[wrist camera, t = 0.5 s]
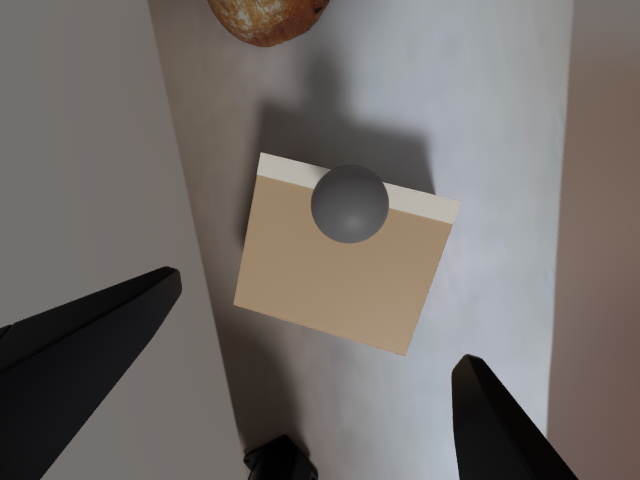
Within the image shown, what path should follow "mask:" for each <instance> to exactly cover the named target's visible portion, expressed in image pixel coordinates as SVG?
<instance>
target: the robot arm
mask: <svg viewBox="0 0 640 480" xmlns="http://www.w3.org/2000/svg"><path fill="white" fill-rule="evenodd" d="M181 292H182V284H181V277H180V272H179V271H178V270H177V269H175V268H171V267H167V266H165V267H162V268H159V269H156V270H154V271H151V272H148V273H146V274H143V275H140V276H138V277H135V278H133V279H130V280H127V281H124V282H122V283H119V284H117V285H114V286H111V287H109V288H106V289H103V290H101V291H98V292H95V293H93V294H90V295H87V296H85V297H82V298H79V299H77V300H74V301H71V302H69V303H66V304H64V305H61V306H58V307H55V308H53V309H50V310H47V311H45V312H42V313H40V314H37V315H34V316H31V317H29V318H26V319H23V320H21V321H18V322H16V323H14V324H13V325H7V326H5V327H2V328H0V480H40V479H41V478H42V477H43V475H44V474H45V473H46V471H47V470H48V469H49V468H50V466H51V465H52V464H53V463H54V461H55V460H56V459H57V458H58V456H59V455H60V454H61V453H62V451H63V450H64V449H65V448H66V446H67V445H68V444H69V443H70V441H71V440H72V439H73V437H74V436H75V435H76V434H77V432H78V431H79V430H80V429H81V427H82V426H83V425H84V424H85V422H86V421H87V420H88V418H89V417H90V416H91V415H92V414H93V412H94V411H95V410H96V408H97V407H98V406H99V405H100V403H101V402H102V401H103V399H104V398H105V397H106V396H107V395H108V393H109V392H110V391H111V389H112V388H113V387H114V386H115V385H116V383H117V382H118V381H119V379H120V378H121V377H122V376H123V374H124V373H125V372H126V370H127V369H128V368H129V367H130V366H131V364H132V363H133V362H134V360H135V359H136V358H137V357H138V355H139V354H140V353H141V352H142V350H143V349H144V348H145V347H146V345H147V344H148V343H149V342H150V340H151V339H152V338H153V336H154V335H155V333H156V331H157V330H158V329H159V327H160V326H161V324H162V323H163V321H164V319H165V318H166V316H167V315H168V313H169V311H170V310H171V309H172V307H173V305H174V304H175V302H176V301H177V299H178V298H179V296H180V294H181ZM452 409H453V432H454V441H455V449H456V456H457V463H458V470H459V478H460V480H579V479H578V478H577V477H576V476H575V474H574V473H573V472H572V471H571V469H570V468H569V467H568V466H567V465H566V463H565V462H564V461H563V459H562V458H561V457H560V456H559V454H558V453H557V452H556V451H555V449H554V448H553V447H552V446H551V444H550V443H549V442H548V440H547V439H546V438H545V437H544V435H543V434H542V433H541V432H540V430H539V429H538V428H537V427H536V425H535V424H534V423H533V422H532V420H531V419H530V418H529V417H528V415H527V414H526V413H525V412H524V410H523V409H522V408H521V407H520V405H519V404H518V403H517V402H516V400H515V399H514V398H513V397H512V395H511V394H510V393H509V391H508V390H507V389H506V388H505V386H504V385H503V384H502V383H501V381H500V380H499V379H498V378H497V376H496V375H495V374H494V373H493V371H492V370H491V369H490V368H489V366H488V365H487V364H486V363H485V361H484V360H483V359H481V358H480V357H477V356H473V355H470V354H466V355H464V356H463V357H462V359H461V360H460V361H459V362H458V364H457V365H456V366H455V367H454V369H453V371H452ZM243 461H244V463H245V464H246V466H247V467H248V468H249V469H250V470H251V472H250V475H249V477H248V480H318V474H317V473H316V471H315V470H314V469H313V468H312V466H311V465H310V464H309V463H308V461H307V460H306V459H305V458H304V456H303V455H302V454H301V452H300V451H299V450H298V449H297V447H296V446H295V445H294V444H293V442H292V441H291V440H290V439H289V437H288V436H285V435H284V436H281V437H279V438H277V439H275V440H273V441H271V442H269V443H267V444H266V445H264V446H262V447H260V448H258V449H256V450H254V451H252V452H250V453H248V454H246V455H245V457H244V459H243Z"/></svg>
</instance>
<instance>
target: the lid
mask: <svg viewBox="0 0 640 480" xmlns="http://www.w3.org/2000/svg"><path fill="white" fill-rule="evenodd" d="M461 202H462V201H458V200H453V199H449V198H445V197H441V196H437V195H433V194H429V193H425V192H421V191H417V190H413V189H409V188H405V187H400V186H396V185H392V184H388V183H384V182H382V181H381V179H380V178H379V177H378V176H377V175H376V174H374V173H373V172H372V171H370V170H368V169H366V168H364V167H361V166H356V165H345V166H340V167H337V168H334V169H332V170H331V169H327V168H323V167H319V166H315V165H311V164H307V163H303V162H299V161H294V160H290V159H286V158H282V157H278V156H274V155H270V154H266V153H262V152H261V154H260V159H259V165H258V170H257V179H256V184H255V190H254V195H253V200H252V206H251V211H250V217H249V222H248V228H247V233H246V239H245V244H244V250H243V255H242V261H241V266H240V271H239V277H238V282H237V288H236V293H235V299H234V304H233V305H236V306H239V307H242V308H246V309H249V310H252V311H256V312H259V313H262V314H266V315H269V316H272V317H276V318H279V319H282V320H286V321H289V322H292V323H296V324H299V325H303V326H306V327H309V328H313V329H316V330H319V331H323V332H326V333H329V334H333V335H336V336H339V337H343V338H346V339H349V340H353V341H356V342H359V343H363V344H366V345H369V346H373V347H376V348H379V349H383V350H386V351H389V352H393V353H396V354H399V355H403V356H406V353H407V350H408V347H409V344H410V342H411V339H412V336H413V333H414V331H415V328H416V325H417V322H418V319H419V317H420V314H421V311H422V308H423V306H424V303H425V300H426V297H427V294H428V292H429V289H430V286H431V283H432V281H433V278H434V275H435V272H436V269H437V267H438V264H439V261H440V258H441V256H442V253H443V250H444V247H445V244H446V242H447V239H448V236H449V233H450V231H451V228H452V225H453V224H454V221H455V218H456V216H457V213H458V210H459V207H460V204H461Z"/></svg>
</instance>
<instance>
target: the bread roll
mask: <svg viewBox="0 0 640 480" xmlns="http://www.w3.org/2000/svg"><path fill="white" fill-rule="evenodd" d="M207 1H208V3H209V5H210V7H211V9H212V11H213V13H214V15H215V16H216V18H217V19H218V20H219V21H220V23H221V24H222V25H223V26H224V27H225V28H226V29H227V30H228V31H229V32H230V33H231V34H232V35H234V36H235V37H237V38H238V39H240V40H242V41H244V42H246V43H249V44H252V45H255V46H258V47H271V46H275V45H276V44H281V43H283V42H284V41H288V40H291V39H293V38H295V37H296V36H299V35H301V34H303V33H305V32H306V31H308V30H309V29H310V28H311V26H312V25H313V24H314V23H315V22H316V21H317V20H318V19H319V17H320V15H321V14H322V12H323V10H324V9H325V7H326V6H327V4H328V3H329V1H330V0H207Z"/></svg>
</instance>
